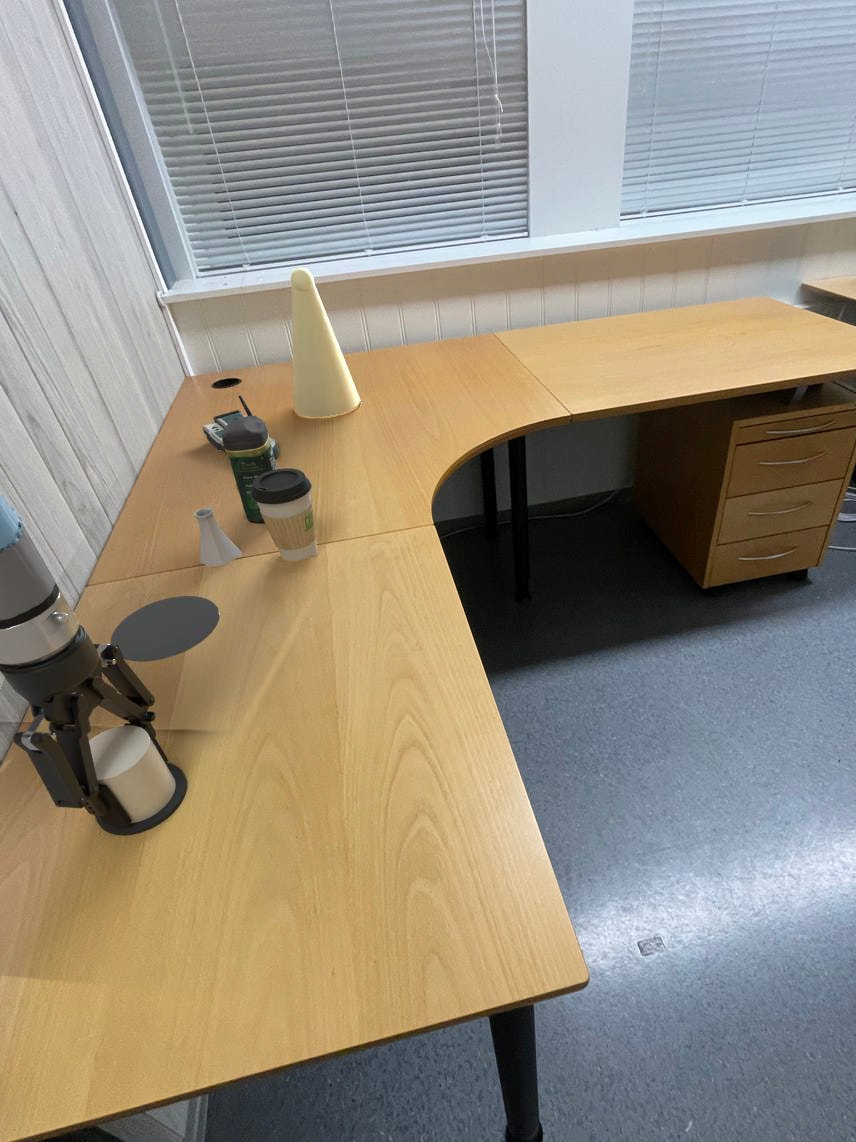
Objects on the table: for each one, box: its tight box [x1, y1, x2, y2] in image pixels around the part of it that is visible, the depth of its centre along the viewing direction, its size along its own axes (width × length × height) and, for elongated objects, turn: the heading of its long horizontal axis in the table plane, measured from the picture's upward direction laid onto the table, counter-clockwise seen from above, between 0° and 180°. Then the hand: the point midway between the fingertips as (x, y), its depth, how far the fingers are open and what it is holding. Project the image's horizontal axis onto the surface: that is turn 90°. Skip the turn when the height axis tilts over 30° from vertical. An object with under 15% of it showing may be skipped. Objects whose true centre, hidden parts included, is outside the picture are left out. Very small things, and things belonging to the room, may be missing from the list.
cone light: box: [290, 267, 361, 417], centre depth 157 cm, size 25×18×35 cm
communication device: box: [201, 395, 280, 459], centre depth 148 cm, size 12×24×9 cm, turn 39°
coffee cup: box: [251, 467, 318, 562], centre depth 107 cm, size 10×10×15 cm
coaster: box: [94, 761, 188, 836], centre depth 73 cm, size 10×10×1 cm
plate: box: [110, 595, 221, 662], centre depth 97 cm, size 16×16×1 cm
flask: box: [193, 507, 244, 567], centre depth 109 cm, size 7×7×10 cm
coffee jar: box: [222, 415, 278, 524], centre depth 119 cm, size 10×8×19 cm
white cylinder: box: [89, 725, 176, 823], centre depth 70 cm, size 8×8×8 cm
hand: (138, 790), depth 72 cm, fingers open, 8 cm apart
